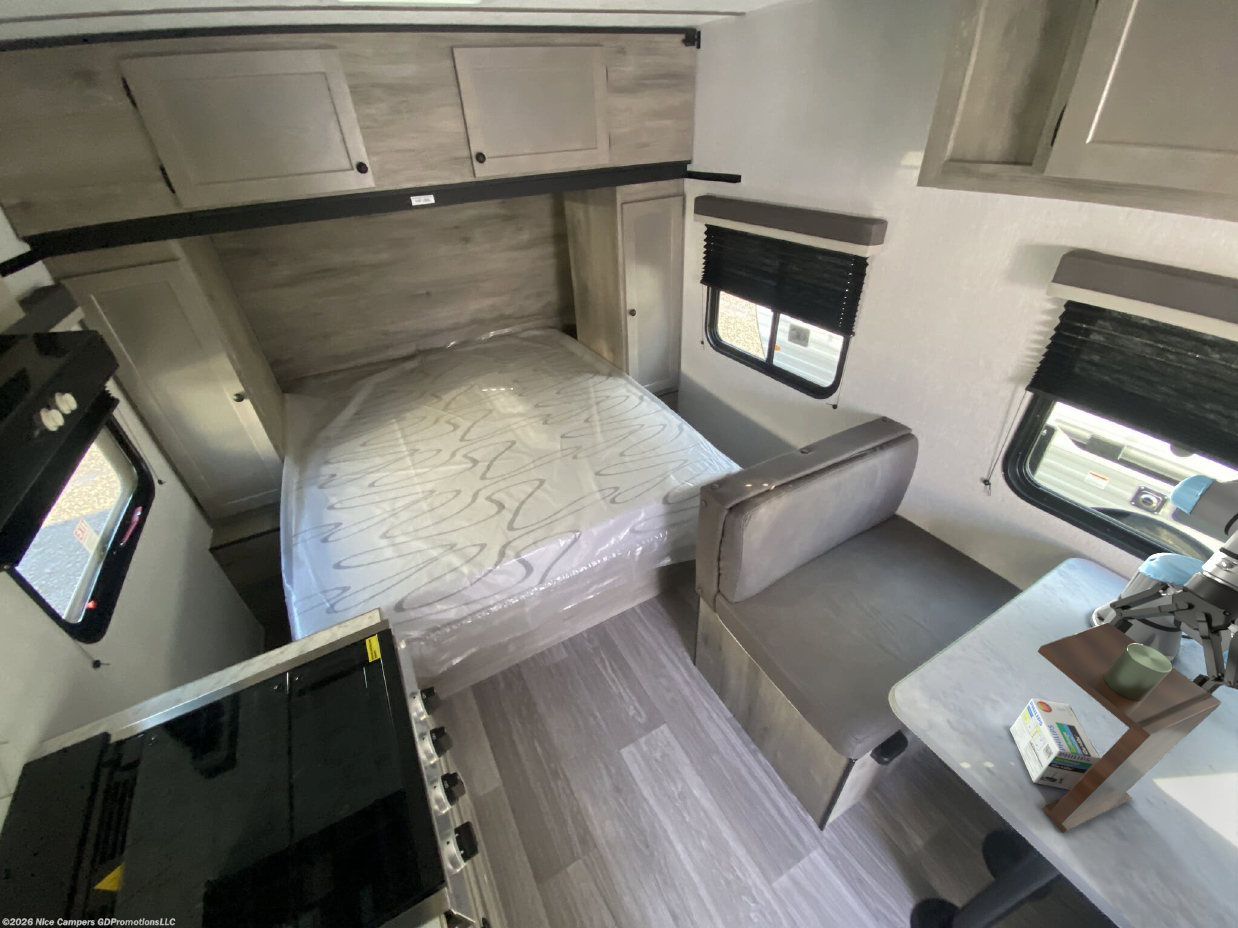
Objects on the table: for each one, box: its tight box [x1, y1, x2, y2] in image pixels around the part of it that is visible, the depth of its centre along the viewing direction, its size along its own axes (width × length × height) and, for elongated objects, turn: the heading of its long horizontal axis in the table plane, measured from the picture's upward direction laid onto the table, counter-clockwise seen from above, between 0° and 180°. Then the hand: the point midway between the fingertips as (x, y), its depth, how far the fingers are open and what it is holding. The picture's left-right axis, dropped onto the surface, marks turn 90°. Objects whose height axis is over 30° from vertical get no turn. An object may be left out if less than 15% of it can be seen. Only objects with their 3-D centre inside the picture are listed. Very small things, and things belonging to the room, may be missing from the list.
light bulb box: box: [1009, 697, 1101, 791], centre depth 95 cm, size 11×7×11 cm, turn 168°
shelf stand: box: [1037, 622, 1223, 834], centre depth 86 cm, size 16×17×36 cm
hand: (1138, 673), depth 95 cm, fingers open, 13 cm apart
